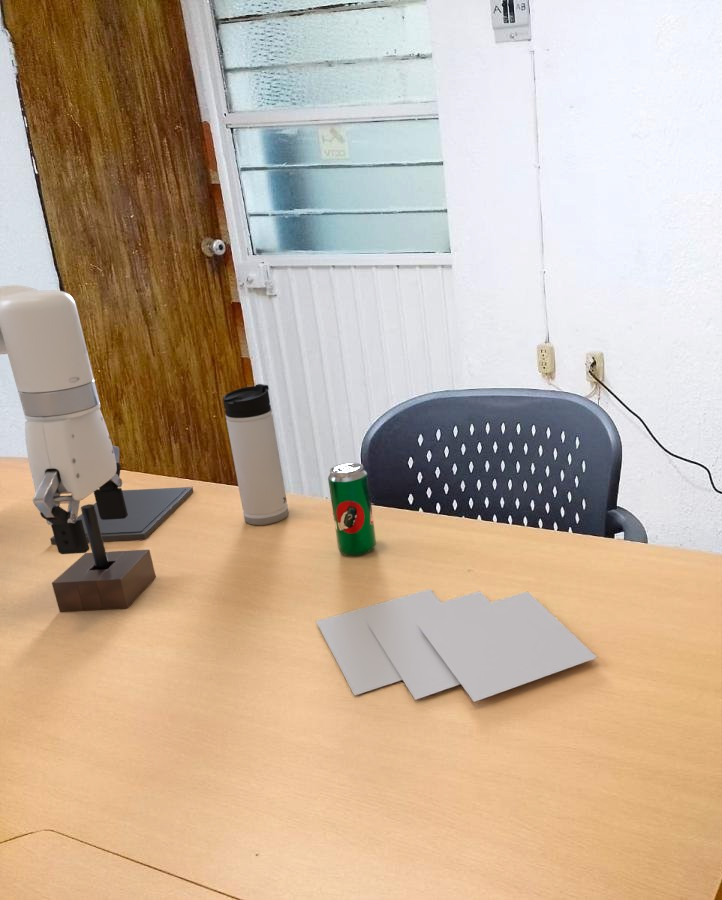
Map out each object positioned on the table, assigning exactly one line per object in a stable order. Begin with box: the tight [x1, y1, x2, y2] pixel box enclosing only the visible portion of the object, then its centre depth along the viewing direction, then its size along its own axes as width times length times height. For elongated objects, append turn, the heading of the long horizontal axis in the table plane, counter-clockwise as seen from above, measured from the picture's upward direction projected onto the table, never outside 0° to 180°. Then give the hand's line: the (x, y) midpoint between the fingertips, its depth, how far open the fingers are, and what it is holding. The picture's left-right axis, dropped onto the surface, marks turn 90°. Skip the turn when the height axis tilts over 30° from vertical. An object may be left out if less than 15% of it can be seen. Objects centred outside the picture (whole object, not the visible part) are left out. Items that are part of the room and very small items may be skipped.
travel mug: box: [222, 383, 290, 526], centre depth 122 cm, size 6×7×20 cm
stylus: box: [80, 503, 109, 570], centre depth 102 cm, size 1×1×12 cm
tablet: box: [49, 486, 194, 545], centre depth 127 cm, size 13×18×1 cm
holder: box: [51, 549, 157, 613], centre depth 103 cm, size 8×8×4 cm
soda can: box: [327, 462, 377, 557], centre depth 112 cm, size 5×5×12 cm
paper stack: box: [315, 588, 598, 703], centre depth 92 cm, size 23×25×1 cm
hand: (95, 534), depth 101 cm, fingers open, 9 cm apart
